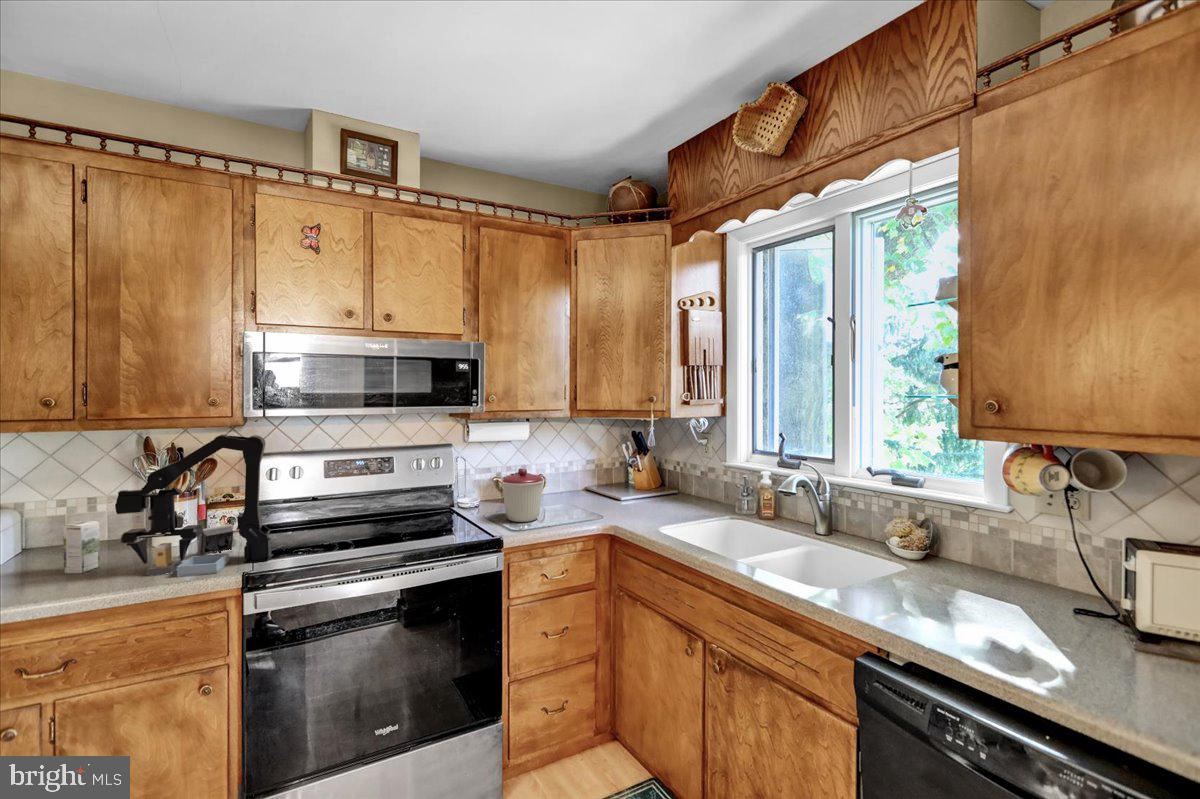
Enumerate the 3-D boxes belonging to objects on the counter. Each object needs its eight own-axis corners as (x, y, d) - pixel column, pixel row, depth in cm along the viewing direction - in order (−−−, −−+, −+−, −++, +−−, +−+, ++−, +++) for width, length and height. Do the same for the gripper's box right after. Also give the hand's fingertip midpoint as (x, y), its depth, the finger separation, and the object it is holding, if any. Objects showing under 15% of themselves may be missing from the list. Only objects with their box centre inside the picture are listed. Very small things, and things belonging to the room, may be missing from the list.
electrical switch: (230, 548, 186) (230, 522, 185) (235, 553, 182) (236, 526, 182) (197, 555, 178) (197, 528, 178) (202, 560, 175) (202, 532, 174)
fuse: (172, 568, 166) (171, 542, 166) (165, 573, 162) (165, 546, 162) (162, 569, 165) (161, 543, 165) (155, 574, 161) (155, 547, 161)
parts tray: (229, 562, 171) (228, 553, 171) (216, 573, 161) (216, 563, 161) (191, 565, 168) (191, 556, 168) (177, 577, 159) (176, 566, 158)
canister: (492, 518, 226) (492, 468, 225) (528, 511, 238) (528, 464, 237) (516, 527, 212) (516, 474, 212) (553, 519, 224) (553, 468, 224)
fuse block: (181, 566, 168) (180, 560, 168) (170, 574, 161) (170, 567, 161) (157, 568, 166) (157, 561, 166) (146, 576, 159) (146, 569, 159)
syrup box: (82, 567, 167) (80, 520, 167) (100, 567, 167) (99, 520, 167) (63, 573, 161) (61, 525, 161) (82, 573, 161) (81, 525, 161)
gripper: (209, 502, 173) (210, 551, 174) (139, 506, 168) (140, 556, 168) (194, 510, 163) (196, 562, 163) (119, 515, 157) (120, 568, 158)
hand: (164, 561), depth 163 cm, fingers open, 9 cm apart
